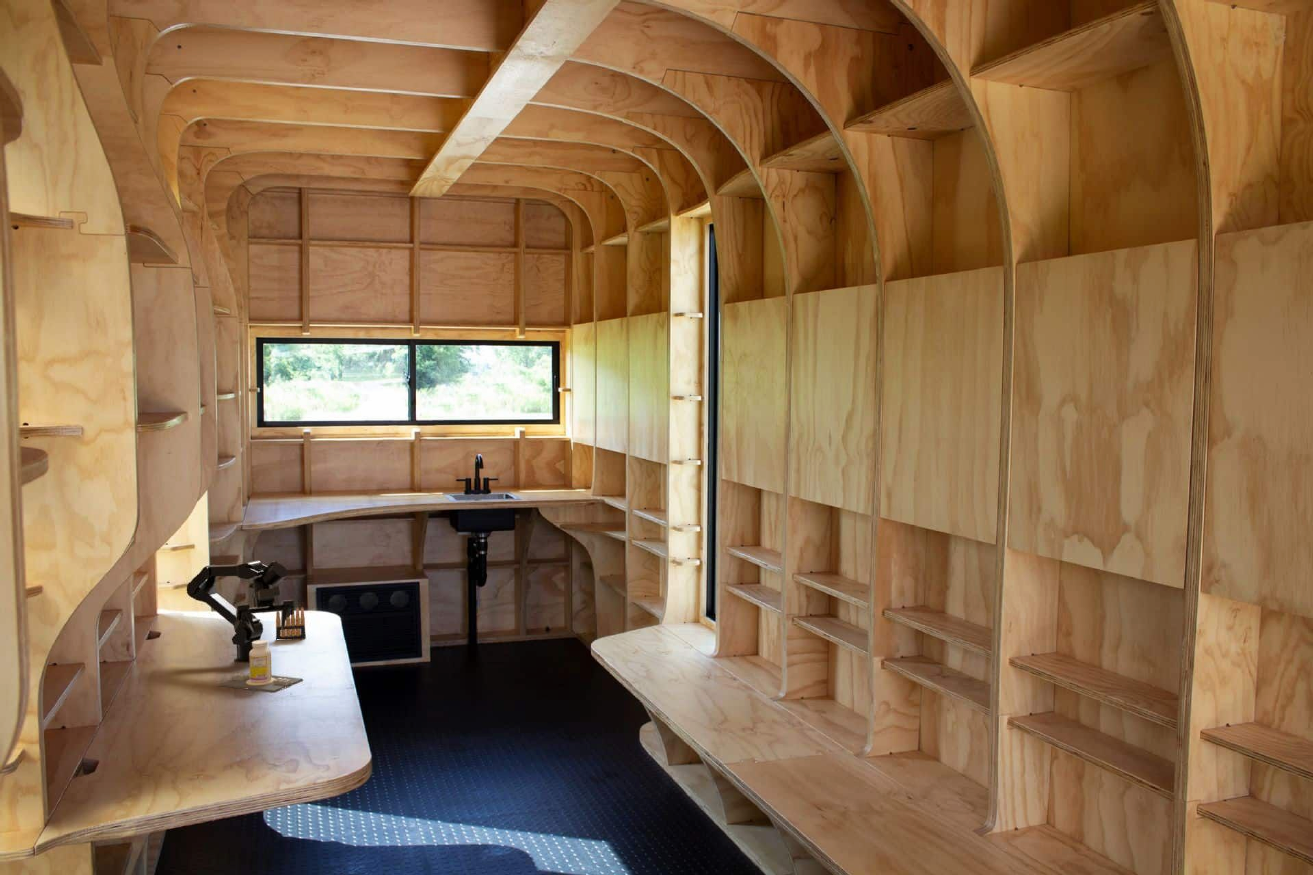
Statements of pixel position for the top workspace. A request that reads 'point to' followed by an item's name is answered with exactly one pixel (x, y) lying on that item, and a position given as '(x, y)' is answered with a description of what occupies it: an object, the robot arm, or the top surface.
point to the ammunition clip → (291, 626)
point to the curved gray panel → (271, 685)
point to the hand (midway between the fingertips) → (268, 630)
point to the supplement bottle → (260, 662)
